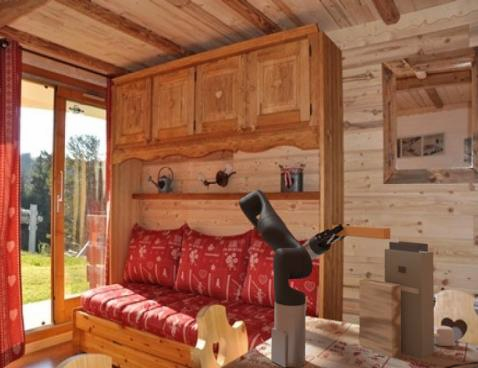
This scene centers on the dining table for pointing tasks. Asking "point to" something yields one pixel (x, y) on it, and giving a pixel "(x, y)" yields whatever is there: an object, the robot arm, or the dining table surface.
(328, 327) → the dining table surface
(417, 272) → the case
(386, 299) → the birch block
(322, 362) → the dining table surface
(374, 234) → the orange block
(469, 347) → the dining table surface
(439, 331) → the power adapter
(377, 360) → the dining table surface
